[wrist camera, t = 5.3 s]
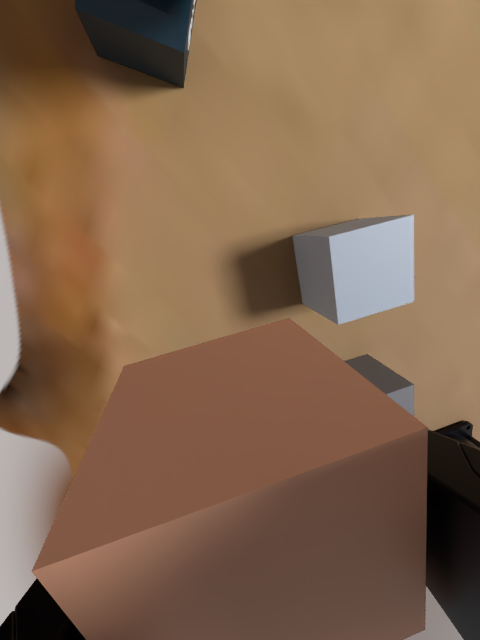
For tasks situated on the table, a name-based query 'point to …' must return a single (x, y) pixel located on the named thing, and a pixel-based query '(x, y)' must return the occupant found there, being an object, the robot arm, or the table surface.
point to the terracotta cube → (245, 501)
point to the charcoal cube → (385, 380)
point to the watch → (141, 34)
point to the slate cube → (357, 267)
